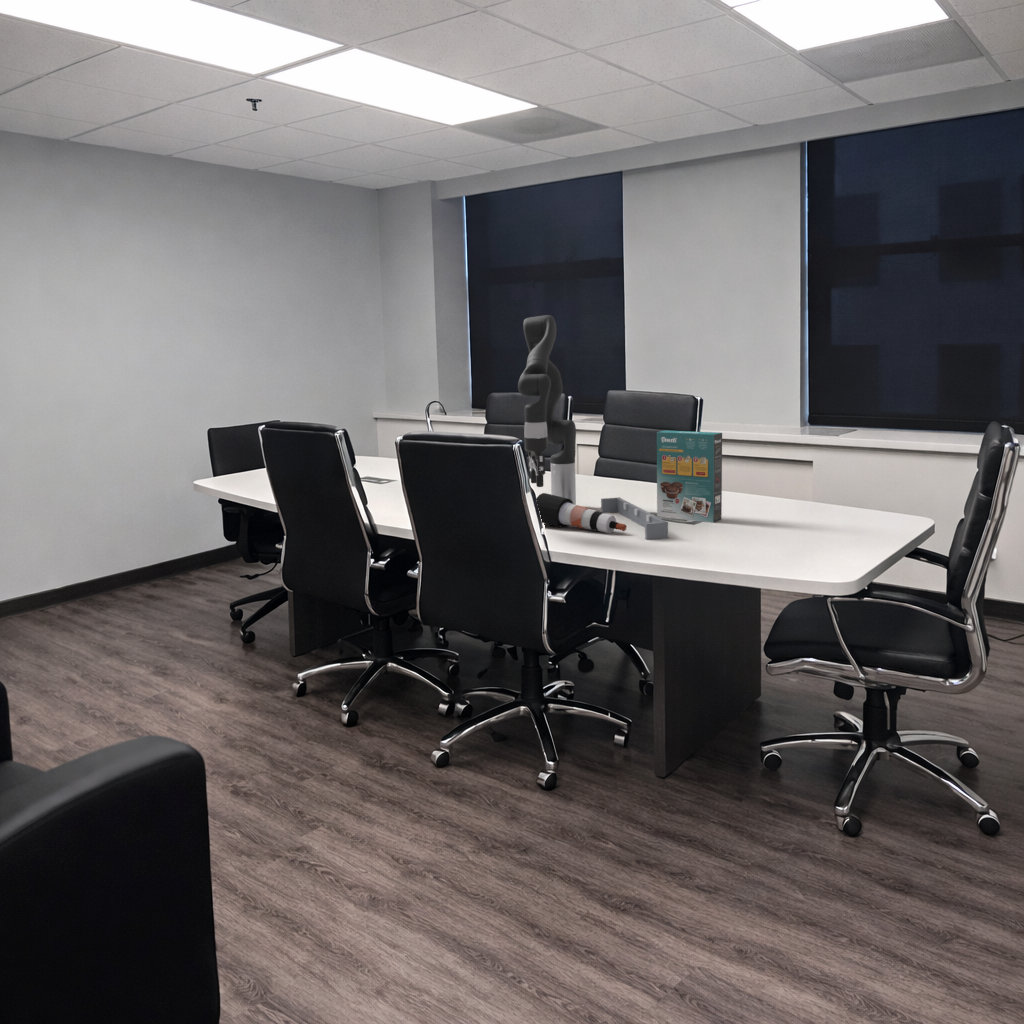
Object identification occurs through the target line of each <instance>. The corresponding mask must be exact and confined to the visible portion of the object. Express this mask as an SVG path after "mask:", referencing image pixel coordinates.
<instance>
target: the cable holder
mask: <svg viewBox="0 0 1024 1024" xmlns="http://www.w3.org/2000/svg"><path fill="white" fill-rule="evenodd" d="M600 504H601V505H600V507H601V508H600V512H602V513H605V514H608V513H619V514H620V515H622V516H624V517H626V518H628V519H629V520H630V521H633V522H634V523H636V524H638V525H639V526H641V527H643V528H644V531H645V532H644V538H645V539H644V540H657V539H658V540H659V539H668V538H669V522H668V521H666V520H664V519H662V518H661V517H657V515H654V514H653V513H650V512H649V511H646V510H645V509H643V508H641V507H639V506H637V505H635V504H633V503H631V502H630V501H628V500H626V499H623V498H621V497H608V498H607V497H605V498H601V499H600Z"/></svg>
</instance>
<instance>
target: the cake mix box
mask: <svg viewBox="0 0 1024 1024" xmlns="http://www.w3.org/2000/svg"><path fill="white" fill-rule="evenodd" d="M722 483H723V432H712V431H710V432H708V431H688V430H686V431H684V430H661V431H657V432H656V517H658V518H666V519H667V518H668V519H676V520H686V521H692V522H693V521H695V522H702V523H703V522H704V523H716V522H719V521H722V513H723V512H722V507H723V506H722V505H723V503H722V499H723V497H722V496H723V491H722V490H723V486H722V485H723V484H722Z"/></svg>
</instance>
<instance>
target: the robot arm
mask: <svg viewBox="0 0 1024 1024" xmlns="http://www.w3.org/2000/svg"><path fill="white" fill-rule="evenodd" d="M522 325H523V327H522V328H523V333H524V338H525V342H526V346H527V349H528V353H529V354H528V356H527V358H526V359H527V360H526V365H525V366H526V367H525V369H524V370H523V372H522V373H521V374H520V377H519V379H518V382H517V388H518V392H519V394H521V396H524V397H539V400H538V401H536V402H532V403H528V404H526V405H525V406H524V426H523V427H524V428H523V429H524V430H523V431H524V432H523V433H524V435H523V437H524V450H525V451H526V452H527V455H528V456H527V457H528V458H527V459H528V470H529V473H530V483H531V484H536V487H537V488H543V487H544V475H545V474H546V460H545V459H546V457H545V455H543V453H542V452H544V451H547V450H548V447H549V445H557V446H558V445H562V446H563V449H562V450H561V451H559V452H557V453H554V454H552V455H551V456H550V460H549V461H550V488H551V489H550V492H551V493H550V494H551V495H555V496H559V497H564V498H568V499H570V500H571V501H572V502H573V504H574V505H577V497H576V496H577V490H576V489H577V487H576V446H577V445H576V441H577V427H576V424H575V422H574V420H572V419H555V410H556V407H557V405H558V403H559V401H560V399H561V396H562V395H563V390H564V386H563V380H562V376H561V373H560V371H559V369H558V367H557V366H556V365H555V364H554V363H553V362H552V361H551V360H550V355H551V352H552V350H553V347H554V344H555V341H556V338H557V330H558V329H557V323H556V321H555V317H554V316H552V315H549V314H545V315H537V316H531V317H530V316H529V317H526V318H525V319H524V320H523V324H522ZM548 444H549V445H548Z"/></svg>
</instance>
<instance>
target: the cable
mask: <svg viewBox="0 0 1024 1024" xmlns="http://www.w3.org/2000/svg"><path fill="white" fill-rule="evenodd" d="M535 500H537V504H538V508H539V511H540V515H541V519H542V522H541V523H542V524H545V525H549V526H554V527H559V528H566V527H568V526H572V527H576V528H580V529H587V530H590V531H596V532H602V533H605V534H611V533H614V531H615V530H617V531H623V532H625V531H626V530H627V525H626V524H624V523H620V522H617V519H616V516H615V515H612V514H608V513H602V512H601V511H598V510H595V509H592V508H590V507H585V506H581V505H578V504H576V505H574V504H573V502H572V501H571V500H570V499H568V498H564V497H559V496H555V495H551V493H546V492H542V493H540V494H539V495H538V496H537V497H536V498H535Z"/></svg>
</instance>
